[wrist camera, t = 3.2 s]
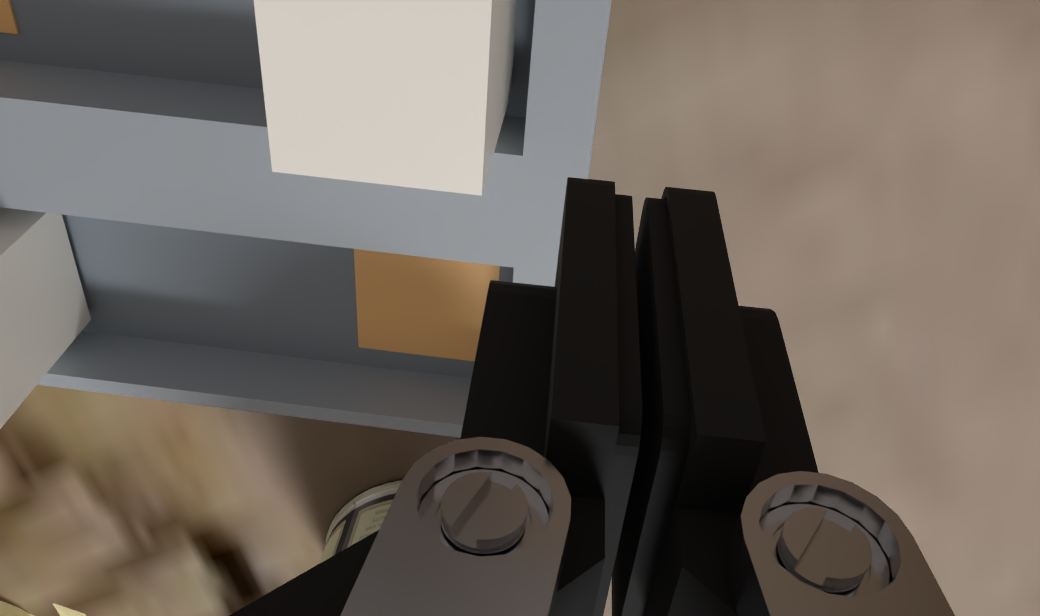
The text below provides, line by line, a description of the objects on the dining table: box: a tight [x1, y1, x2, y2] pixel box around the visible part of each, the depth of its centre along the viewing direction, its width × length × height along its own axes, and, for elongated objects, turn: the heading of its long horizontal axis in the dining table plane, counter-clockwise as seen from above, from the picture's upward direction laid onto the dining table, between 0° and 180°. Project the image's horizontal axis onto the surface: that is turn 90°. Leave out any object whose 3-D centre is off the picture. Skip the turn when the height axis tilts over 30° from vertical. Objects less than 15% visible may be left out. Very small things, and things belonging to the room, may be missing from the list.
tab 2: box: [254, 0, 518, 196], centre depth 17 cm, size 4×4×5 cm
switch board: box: [0, 0, 612, 438], centre depth 22 cm, size 20×15×4 cm
